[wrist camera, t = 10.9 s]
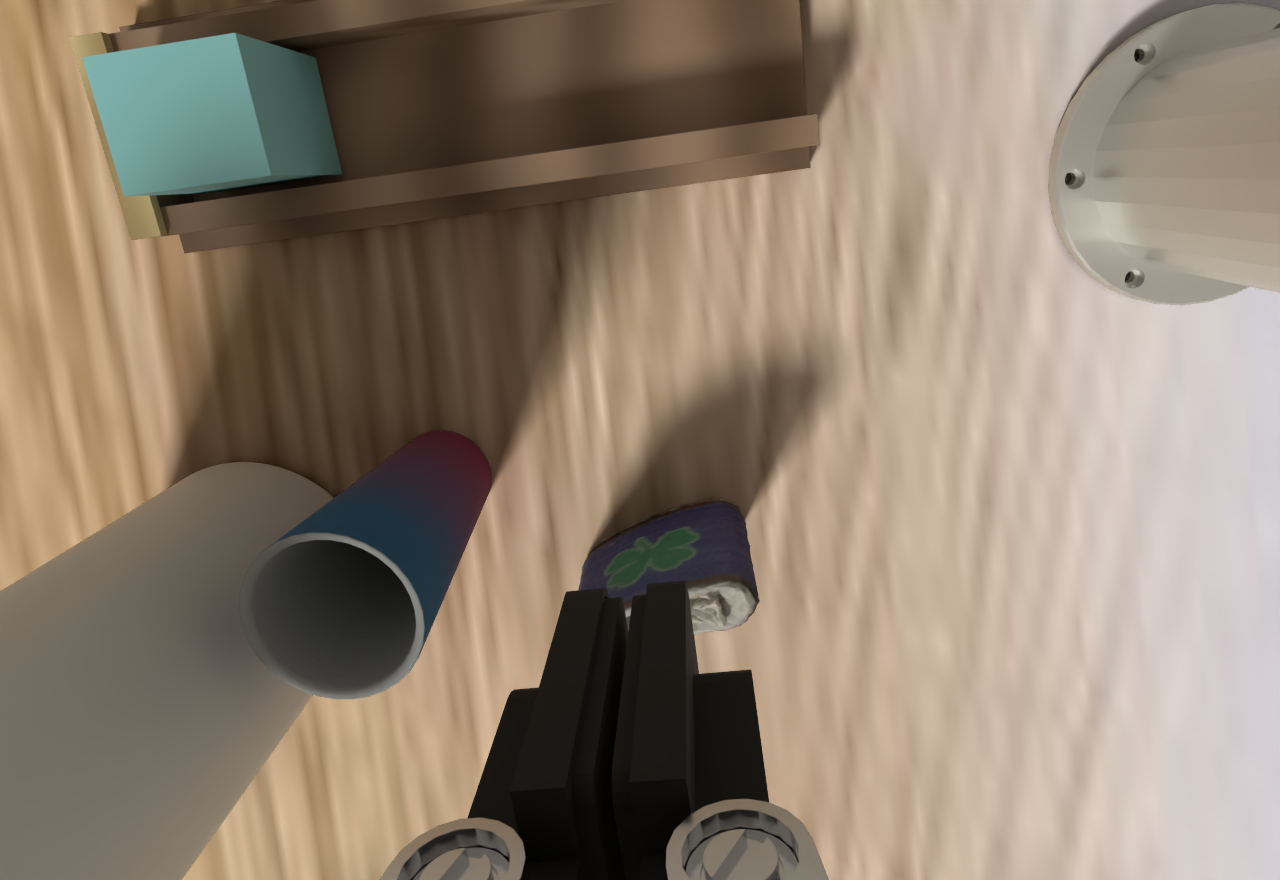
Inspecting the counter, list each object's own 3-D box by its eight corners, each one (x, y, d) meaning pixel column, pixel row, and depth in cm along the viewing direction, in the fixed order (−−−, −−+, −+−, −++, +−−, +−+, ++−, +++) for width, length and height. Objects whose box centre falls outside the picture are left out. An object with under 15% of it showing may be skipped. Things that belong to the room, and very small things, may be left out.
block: (315, 57, 37) (235, 32, 30) (342, 174, 39) (270, 175, 32) (188, 77, 38) (81, 57, 31) (219, 192, 39) (124, 196, 32)
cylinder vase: (152, 440, 45) (-455, 747, 21) (383, 476, 45) (40, 824, 21) (160, 643, 48) (-345, 1097, 25) (373, 676, 48) (72, 1163, 25)
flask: (595, 591, 46) (570, 710, 36) (572, 546, 45) (540, 654, 35) (752, 532, 45) (773, 638, 34) (731, 484, 44) (746, 578, 34)
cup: (510, 419, 43) (424, 541, 29) (506, 539, 45) (425, 708, 31) (380, 407, 43) (230, 523, 29) (382, 528, 45) (244, 691, 31)
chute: (790, -77, 36) (805, -110, 31) (807, 167, 39) (822, 167, 34) (131, 30, 38) (61, 13, 34) (194, 251, 41) (137, 260, 37)
